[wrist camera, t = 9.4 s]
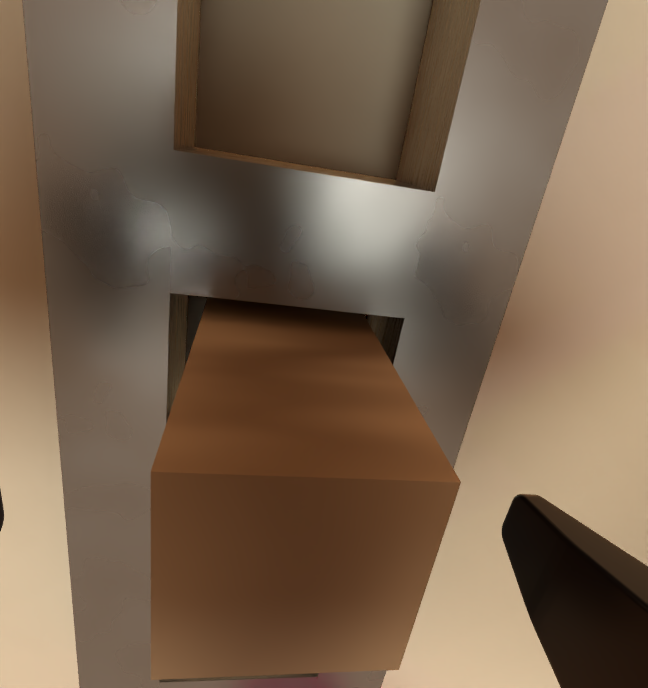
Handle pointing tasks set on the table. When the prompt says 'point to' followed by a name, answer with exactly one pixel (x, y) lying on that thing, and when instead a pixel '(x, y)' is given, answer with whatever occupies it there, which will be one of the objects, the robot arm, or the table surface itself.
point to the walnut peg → (291, 500)
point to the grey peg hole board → (265, 252)
